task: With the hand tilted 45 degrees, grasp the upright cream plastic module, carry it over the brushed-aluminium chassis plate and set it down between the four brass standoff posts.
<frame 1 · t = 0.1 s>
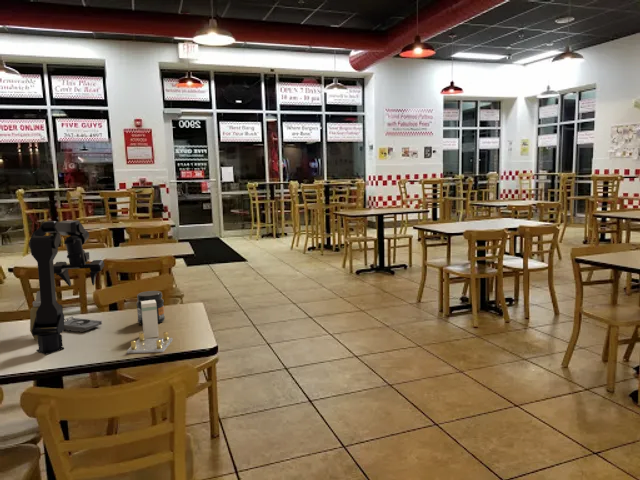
hand: (81, 285, 206), 15 cm above the table, tool pointing down, fingers open, 9 cm apart
module: (151, 335, 187), on the table
graphics card: (76, 330, 198), on the table
supplement container: (151, 322, 205), on the table
chassis: (150, 346, 175), on the table
squeeze bottle: (43, 338, 187), on the table
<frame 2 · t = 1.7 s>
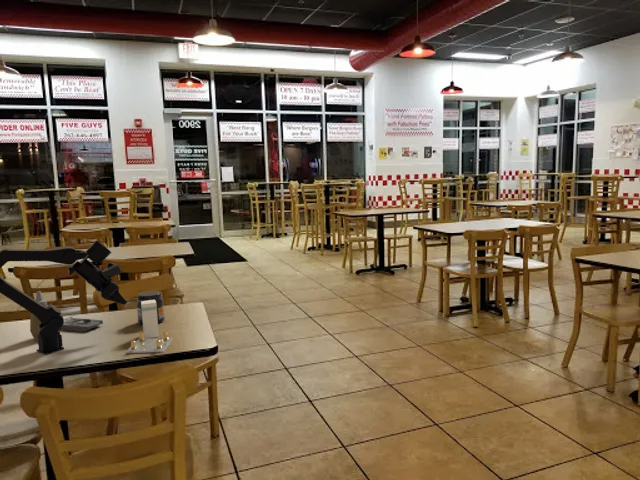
hand: (123, 301, 184), 14 cm above the table, tool tilted 40°, fingers open, 9 cm apart
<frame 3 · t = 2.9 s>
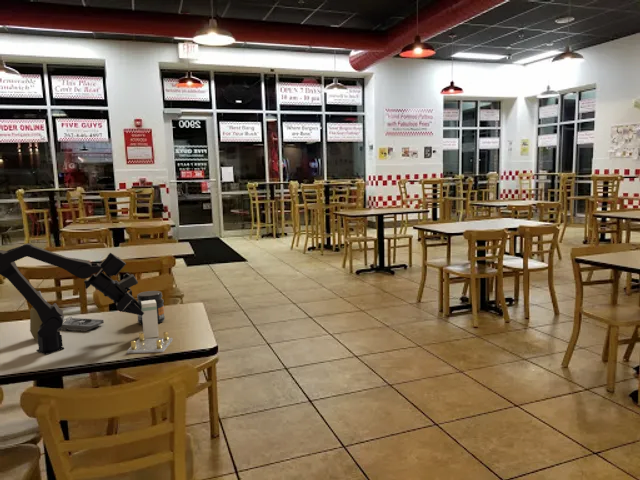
hand: (142, 311, 185), 10 cm above the table, tool tilted 45°, fingers open, 9 cm apart
nothing on the table moved.
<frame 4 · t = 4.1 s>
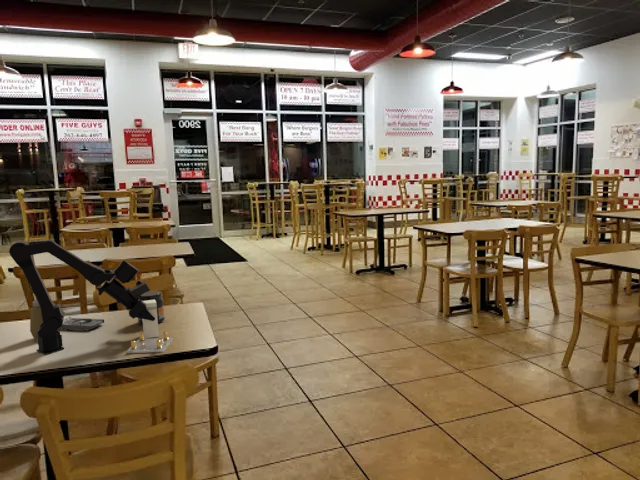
hand: (153, 318, 187), 7 cm above the table, tool tilted 45°, fingers closed on module, 5 cm apart
module: (151, 335, 187), on the table, touching gripper
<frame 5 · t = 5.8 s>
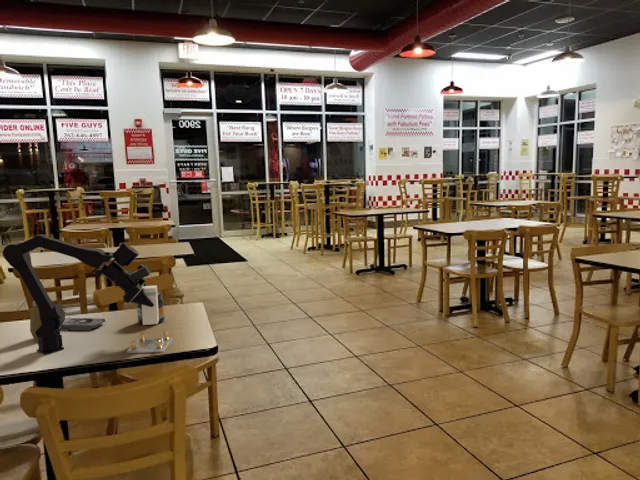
hand: (153, 304, 180), 13 cm above the table, tool tilted 45°, fingers closed on module, 5 cm apart
module: (151, 322, 180), point 7 cm above the table, touching gripper
when the fingers open (9 cm above the table, at t = 7.6 s): module drops 2 cm, resting on chassis.
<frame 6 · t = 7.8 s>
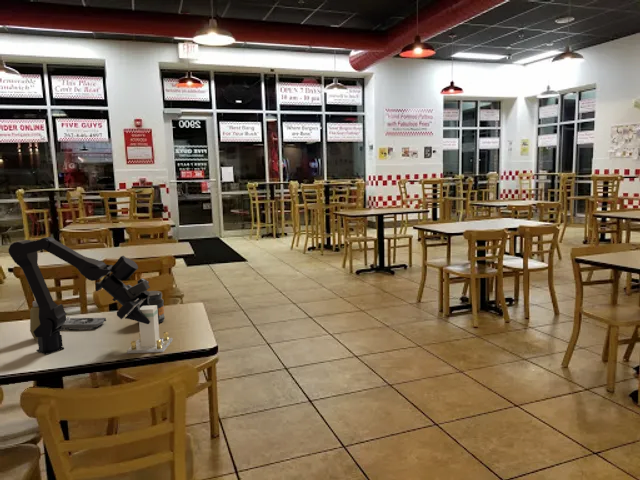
hand: (152, 319, 174), 10 cm above the table, tool tilted 45°, fingers open, 7 cm apart
module: (150, 343, 175), point 1 cm above the table, touching chassis
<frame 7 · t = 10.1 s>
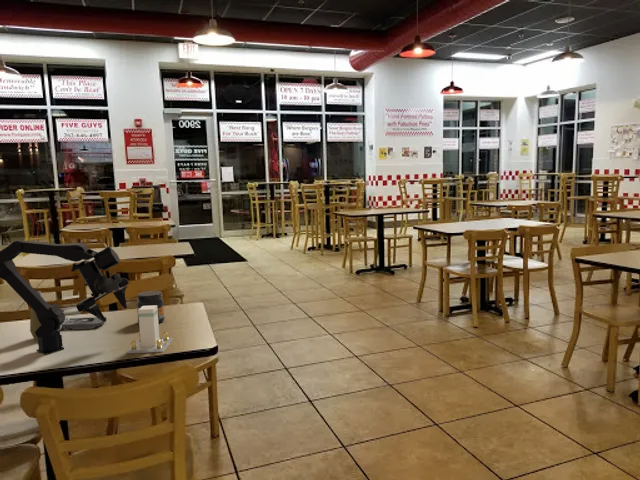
hand: (115, 314, 176), 11 cm above the table, tool tilted 25°, fingers open, 9 cm apart
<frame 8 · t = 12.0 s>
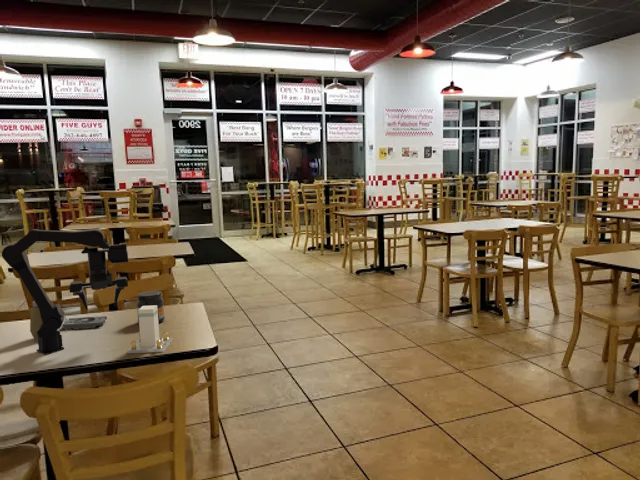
hand: (101, 308, 178), 13 cm above the table, tool pointing down, fingers open, 9 cm apart
at the end: module 0.2 cm off-centre on the chassis, point 1.0 cm above the chassis's base; module tilted 0°; the gripper is holding nothing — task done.
